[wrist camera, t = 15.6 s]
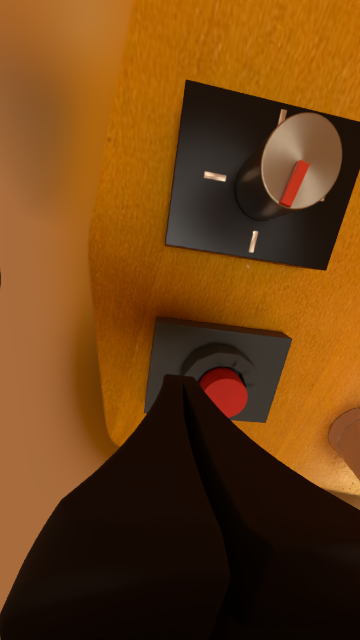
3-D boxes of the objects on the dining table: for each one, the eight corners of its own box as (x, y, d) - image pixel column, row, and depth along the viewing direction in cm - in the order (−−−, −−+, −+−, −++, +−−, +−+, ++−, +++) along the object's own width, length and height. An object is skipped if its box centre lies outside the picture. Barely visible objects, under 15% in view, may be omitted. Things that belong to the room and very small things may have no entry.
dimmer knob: (251, 139, 13) (289, 89, 9) (306, 167, 14) (364, 131, 10) (225, 207, 14) (249, 188, 10) (278, 229, 15) (320, 221, 11)
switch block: (145, 401, 22) (141, 428, 19) (156, 316, 20) (154, 329, 16) (258, 411, 23) (274, 437, 20) (282, 332, 21) (305, 347, 17)
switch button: (194, 402, 19) (197, 416, 17) (202, 364, 18) (206, 376, 16) (235, 405, 19) (241, 420, 17) (244, 369, 18) (252, 381, 16)
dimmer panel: (165, 245, 18) (165, 244, 15) (181, 111, 15) (186, 76, 12) (302, 268, 19) (327, 270, 16) (338, 146, 17) (377, 123, 14)
